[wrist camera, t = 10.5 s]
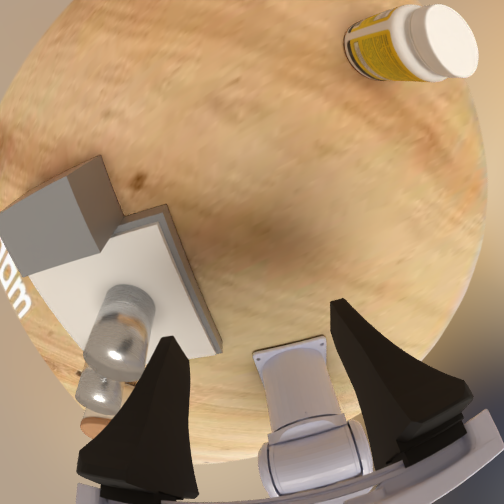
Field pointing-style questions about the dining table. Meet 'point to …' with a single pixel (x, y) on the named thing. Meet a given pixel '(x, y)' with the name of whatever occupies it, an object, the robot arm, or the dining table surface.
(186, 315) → the scale
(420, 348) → the dining table surface
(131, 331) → the cylinder
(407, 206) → the dining table surface
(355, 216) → the dining table surface
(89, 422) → the lidded jar
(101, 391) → the cylinder
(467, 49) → the supplement bottle
